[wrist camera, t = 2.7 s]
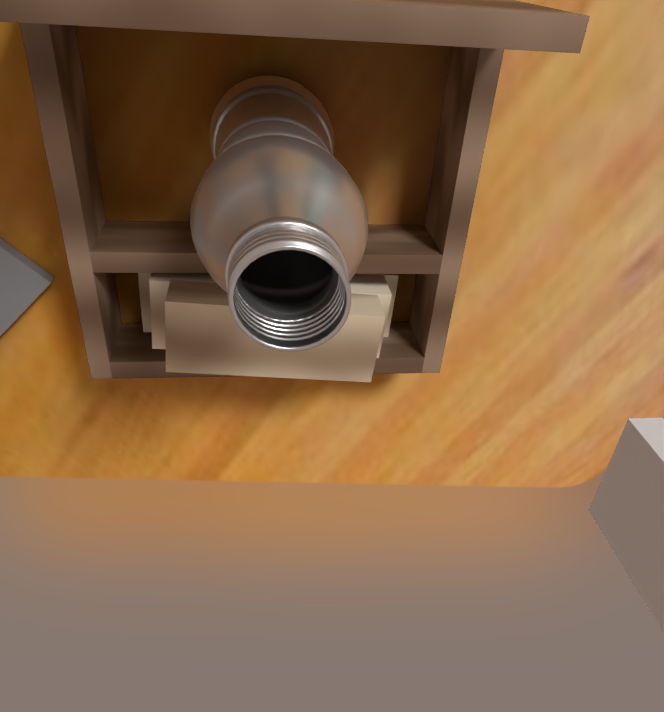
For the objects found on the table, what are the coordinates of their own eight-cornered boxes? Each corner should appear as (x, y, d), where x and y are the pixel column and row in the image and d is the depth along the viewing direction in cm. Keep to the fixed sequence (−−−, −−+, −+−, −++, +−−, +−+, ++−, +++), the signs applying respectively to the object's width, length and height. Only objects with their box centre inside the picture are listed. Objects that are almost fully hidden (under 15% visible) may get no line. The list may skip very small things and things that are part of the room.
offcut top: (170, 279, 34) (164, 301, 32) (377, 295, 36) (385, 316, 34) (170, 347, 36) (165, 371, 34) (364, 358, 38) (370, 382, 36)
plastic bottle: (284, 208, 37) (313, 421, 20) (188, 138, 34) (131, 321, 17) (352, 121, 34) (447, 283, 18) (254, 37, 31) (261, 140, 15)
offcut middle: (155, 260, 36) (149, 280, 33) (384, 275, 38) (391, 294, 36) (157, 327, 38) (152, 348, 36) (372, 337, 40) (378, 358, 38)
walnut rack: (39, -36, 28) (-71, -26, 19) (482, -7, 31) (589, 16, 22) (106, 339, 40) (60, 465, 31) (423, 336, 43) (474, 451, 33)
